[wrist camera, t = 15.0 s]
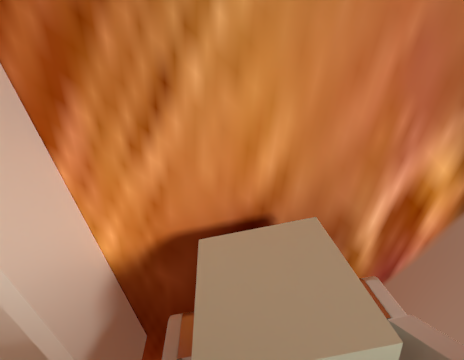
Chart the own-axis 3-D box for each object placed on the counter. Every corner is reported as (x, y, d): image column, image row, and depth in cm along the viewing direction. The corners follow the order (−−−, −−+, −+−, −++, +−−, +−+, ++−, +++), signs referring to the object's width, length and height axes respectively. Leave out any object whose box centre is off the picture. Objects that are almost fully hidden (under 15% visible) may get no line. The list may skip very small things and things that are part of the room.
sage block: (316, 217, 10) (403, 342, 5) (317, 295, 12) (379, 430, 8) (198, 239, 10) (189, 383, 5) (221, 314, 12) (228, 460, 8)
